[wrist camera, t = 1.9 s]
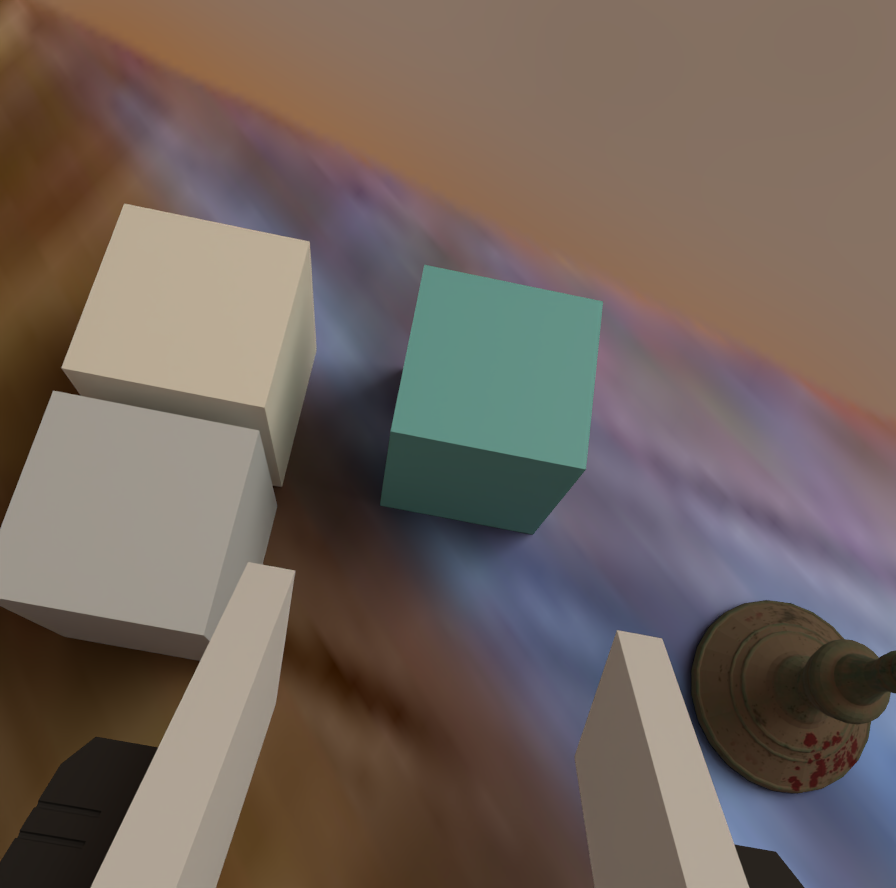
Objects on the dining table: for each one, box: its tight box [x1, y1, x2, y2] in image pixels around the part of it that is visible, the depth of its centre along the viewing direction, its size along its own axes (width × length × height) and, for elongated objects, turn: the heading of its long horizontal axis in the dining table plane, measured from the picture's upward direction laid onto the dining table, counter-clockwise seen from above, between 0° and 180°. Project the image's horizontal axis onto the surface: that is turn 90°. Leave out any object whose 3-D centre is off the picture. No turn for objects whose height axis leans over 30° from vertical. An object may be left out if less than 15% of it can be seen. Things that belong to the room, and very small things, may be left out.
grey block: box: [0, 391, 277, 661], centre depth 35 cm, size 8×8×10 cm
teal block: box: [380, 265, 603, 534], centre depth 39 cm, size 8×8×10 cm
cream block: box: [62, 204, 316, 487], centre depth 38 cm, size 8×8×10 cm
